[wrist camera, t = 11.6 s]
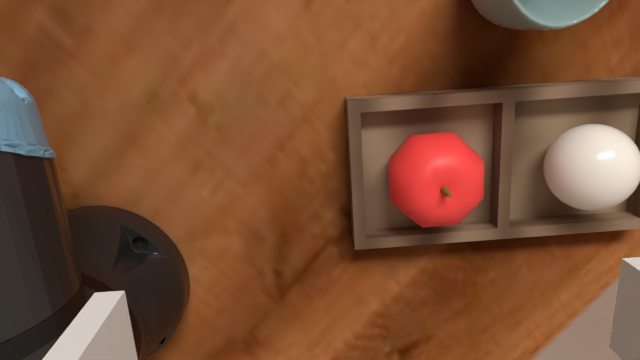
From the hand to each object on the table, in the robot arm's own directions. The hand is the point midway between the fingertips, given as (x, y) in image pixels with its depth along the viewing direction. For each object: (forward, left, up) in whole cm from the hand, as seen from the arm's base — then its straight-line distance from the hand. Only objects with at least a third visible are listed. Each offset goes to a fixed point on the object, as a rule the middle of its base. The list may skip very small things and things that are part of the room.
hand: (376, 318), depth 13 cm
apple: (+8, -4, -30) cm, 31 cm away
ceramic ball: (+21, -4, -29) cm, 36 cm away
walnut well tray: (+15, -4, -30) cm, 34 cm away
